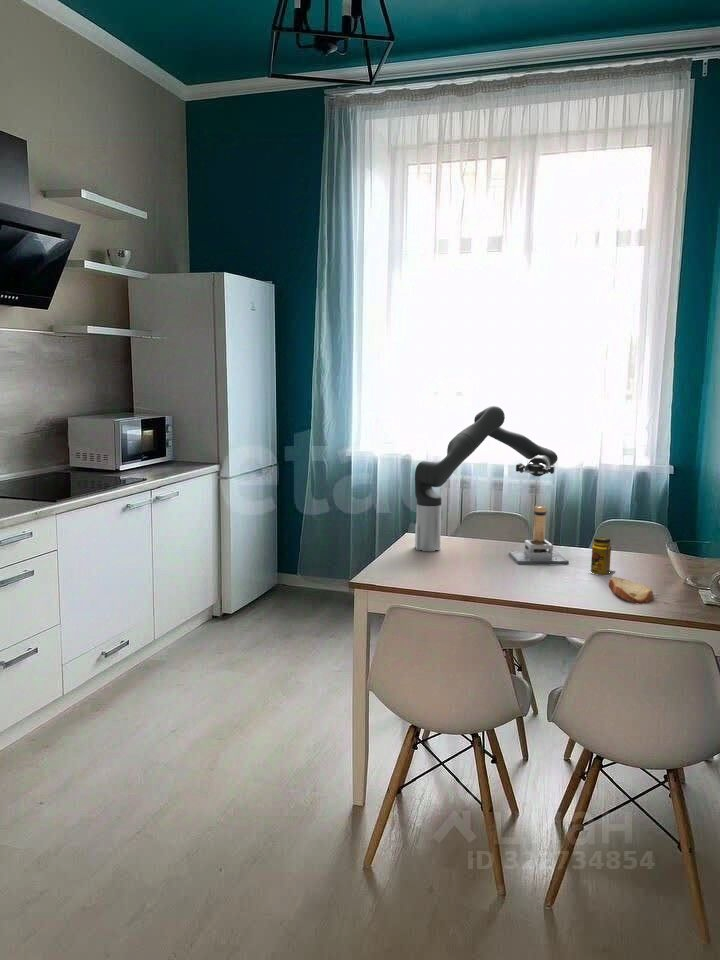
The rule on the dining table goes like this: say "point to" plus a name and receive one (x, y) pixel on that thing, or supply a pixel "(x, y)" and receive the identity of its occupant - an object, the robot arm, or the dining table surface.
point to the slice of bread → (631, 590)
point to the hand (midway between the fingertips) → (532, 470)
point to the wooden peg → (539, 526)
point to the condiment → (601, 557)
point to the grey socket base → (538, 554)
